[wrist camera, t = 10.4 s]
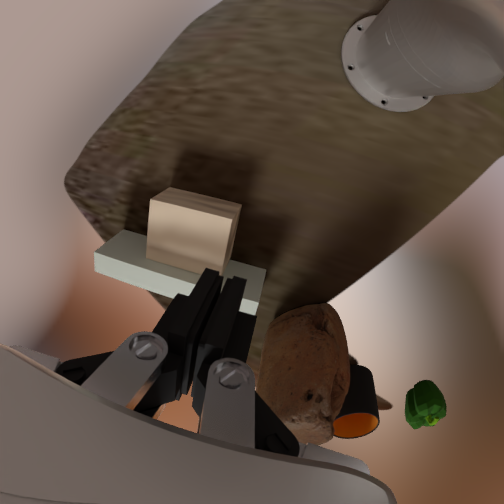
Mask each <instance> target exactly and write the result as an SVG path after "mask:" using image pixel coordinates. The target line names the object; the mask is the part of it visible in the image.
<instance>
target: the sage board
mask: <svg viewBox="0 0 504 504" xmlns="http://www.w3.org/2000/svg"><path fill="white" fill-rule="evenodd" d="M146 249H147V236H145V235H141V234H138V233H135V232H131V231H128V230H122V231H121V232H119V233H118V234H117V235H115V236H114V237H113V238H111V239H110V240H109V241H108V242H106V243H105V244H104V245H103V246H101V247H100V248H99V249H97V250H96V251H95V252H94V260H95V271H96V272H98V273H101V274H104V275H106V276H109V277H112V278H115V279H117V280H120V281H123V282H126V283H129V284H132V285H135V286H138V287H140V288H143V289H146V290H149V291H152V292H155V293H158V294H161V295H164V296H167V297H171V298H174V297H175V296H176V295H177V294H178V293H180V294H183V295H186V296H189V295H190V293H191V292H192V290H193V288H194V287H195V285H196V283H197V282H198V280H199V278H200V277H201V274H197V273H194V272H190V271H187V270H184V269H180V268H177V267H173V266H170V265H167V264H163V263H160V262H157V261H153V260H150V259H147V258H146ZM265 274H266V269H262V268H259V267H255V266H251V265H248V264H244V263H241V262H237V261H233V260H229V263H228V265H227V267H226V269H225V271H224V273H223V275H222V276H224V278H223V283H222V288H221V291H222V289H223V286H224V284H225V282H226V280H227V278H231V279H232V278H233V276H237V277H241V278H244V279H247V282H246V286H245V290H244V294H243V298H242V302H241V306H240V310H239V311H241V312H244V313H248V314H252V315H255V313H256V310H257V307H258V303H259V299H260V295H261V291H262V287H263V283H264V279H265Z"/></svg>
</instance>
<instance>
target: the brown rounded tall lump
mask: <svg viewBox="0 0 504 504" xmlns="http://www.w3.org/2000/svg"><path fill="white" fill-rule="evenodd" d="M349 385H350V362H349V354H348V346H347V340H346V335H345V332H344V328H343V325H342V322H341V319H340V317H339V315H338V313H337V312H336V311H335V309H334V308H333V307H332V306H331V305H330V304H328V303H322V304H314V305H306V306H303V307H300V308H297V309H294V310H290V311H288V312H286V313H284V314H282V315H281V316H279V317H277V318H275V319H274V320H273V321H272V322H271V323H270V324H269V327H268V330H267V333H266V336H265V339H264V344H263V348H262V353H261V363H260V368H259V373H258V379H257V387H256V392H257V393H258V395H259V396H260V397H261V398H262V399H263V400H264V402H265V403H266V404H267V405H268V406H269V407H270V409H271V410H272V411H273V412H274V413H275V414H276V415H277V416H278V418H279V419H280V420H281V421H282V422H283V423H284V424H285V425H286V427H287V428H288V429H289V430H290V431H291V432H292V433H293V434H294V435H295V437H296V438H297V440H298V442H301V443H304V444H307V443H308V442H309V443H312V444H315V445H317V446H318V445H320V444H323V443H326V442H328V441H329V440H331V439H332V438H333V435H334V432H335V429H334V426H333V423H334V420H335V417H336V416H337V415H338V414H339V412H340V410H341V408H342V404H343V402H344V399H345V396H346V394H347V393H348V389H349Z"/></svg>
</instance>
